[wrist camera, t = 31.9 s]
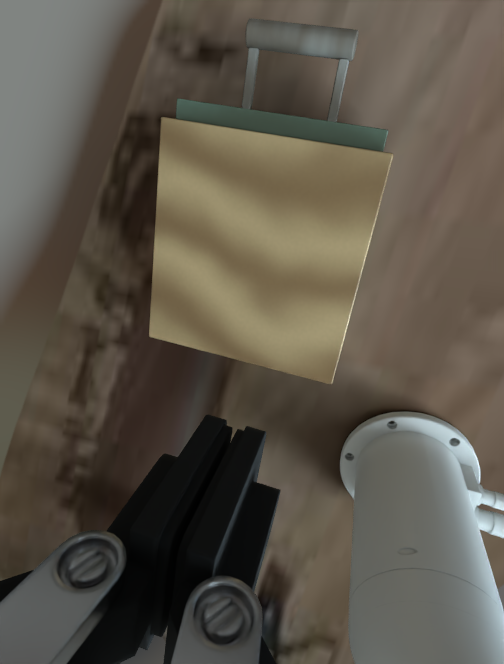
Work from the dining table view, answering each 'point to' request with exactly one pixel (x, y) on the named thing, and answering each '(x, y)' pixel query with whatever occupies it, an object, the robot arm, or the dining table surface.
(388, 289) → the dining table surface
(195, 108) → the drawer
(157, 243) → the cabinet
